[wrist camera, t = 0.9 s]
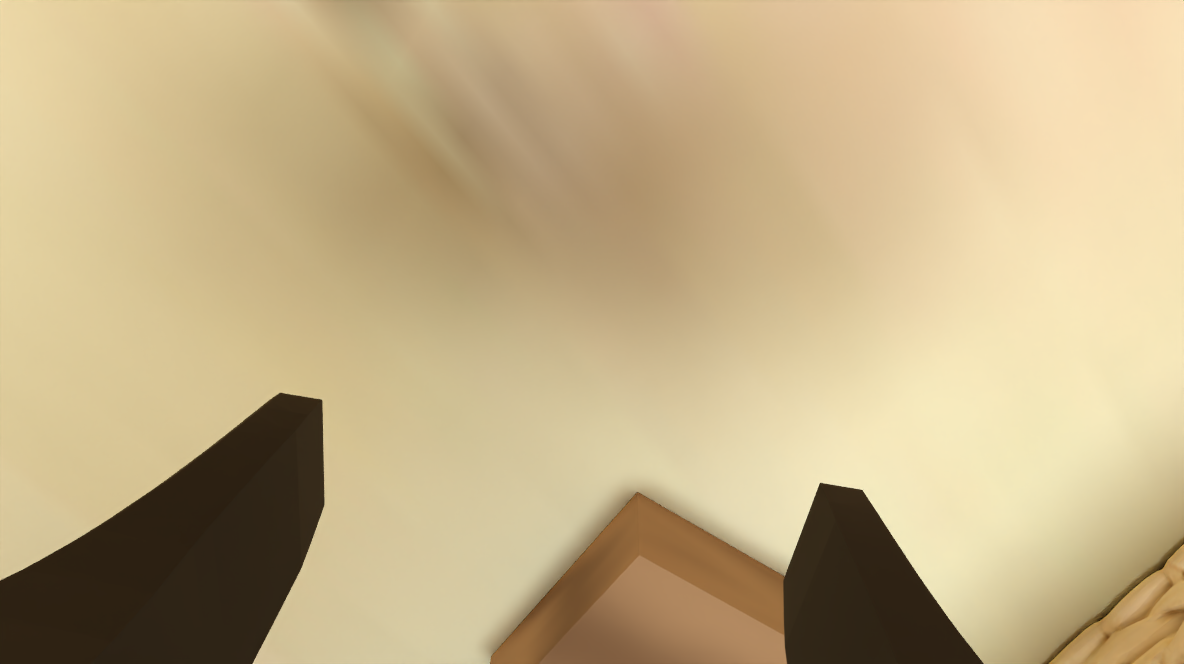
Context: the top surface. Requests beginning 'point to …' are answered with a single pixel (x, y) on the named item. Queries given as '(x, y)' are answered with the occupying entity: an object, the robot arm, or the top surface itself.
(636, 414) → the top surface
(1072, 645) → the storage basket
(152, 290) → the top surface
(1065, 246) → the top surface
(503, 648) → the walnut slab
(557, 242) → the top surface
